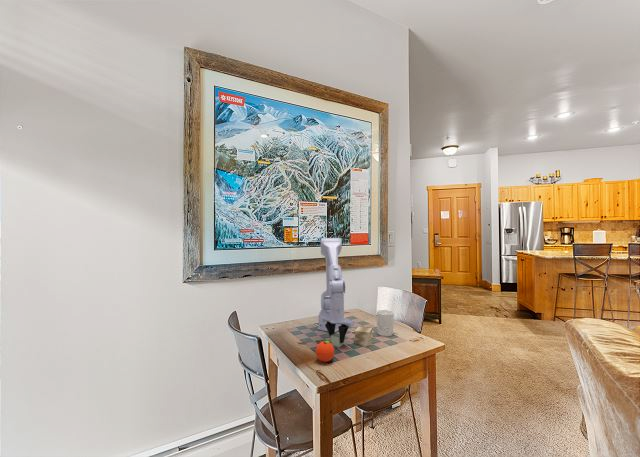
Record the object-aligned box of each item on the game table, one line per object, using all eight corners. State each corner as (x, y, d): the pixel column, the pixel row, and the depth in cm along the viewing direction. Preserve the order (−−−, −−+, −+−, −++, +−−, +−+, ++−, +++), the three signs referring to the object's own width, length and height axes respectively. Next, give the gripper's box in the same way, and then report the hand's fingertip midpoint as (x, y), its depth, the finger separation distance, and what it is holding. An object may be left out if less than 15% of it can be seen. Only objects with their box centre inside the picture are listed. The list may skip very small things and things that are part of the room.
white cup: (394, 337, 130) (394, 314, 130) (376, 336, 132) (376, 314, 132) (393, 331, 138) (393, 310, 138) (376, 330, 140) (376, 309, 140)
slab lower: (353, 344, 124) (353, 337, 124) (360, 339, 129) (360, 333, 129) (366, 347, 120) (366, 340, 120) (373, 342, 125) (373, 335, 125)
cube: (330, 345, 122) (330, 335, 122) (335, 342, 125) (335, 332, 125) (339, 347, 120) (338, 337, 120) (343, 344, 123) (343, 334, 123)
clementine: (325, 354, 113) (325, 335, 113) (340, 359, 109) (339, 340, 109) (311, 361, 107) (311, 342, 107) (326, 367, 103) (326, 346, 103)
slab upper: (354, 337, 123) (354, 330, 123) (358, 333, 128) (358, 326, 129) (369, 339, 121) (369, 332, 121) (372, 335, 126) (372, 328, 126)
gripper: (317, 308, 123) (317, 340, 123) (347, 313, 115) (348, 348, 115) (326, 304, 129) (326, 335, 129) (355, 309, 121) (356, 342, 121)
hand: (337, 341), depth 123 cm, fingers closed on cube, 4 cm apart
